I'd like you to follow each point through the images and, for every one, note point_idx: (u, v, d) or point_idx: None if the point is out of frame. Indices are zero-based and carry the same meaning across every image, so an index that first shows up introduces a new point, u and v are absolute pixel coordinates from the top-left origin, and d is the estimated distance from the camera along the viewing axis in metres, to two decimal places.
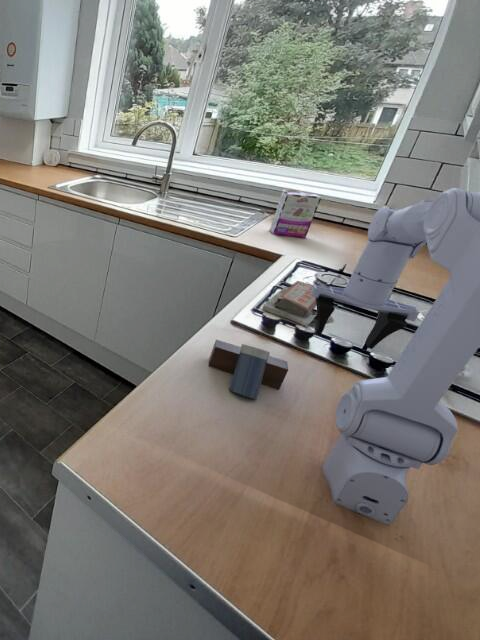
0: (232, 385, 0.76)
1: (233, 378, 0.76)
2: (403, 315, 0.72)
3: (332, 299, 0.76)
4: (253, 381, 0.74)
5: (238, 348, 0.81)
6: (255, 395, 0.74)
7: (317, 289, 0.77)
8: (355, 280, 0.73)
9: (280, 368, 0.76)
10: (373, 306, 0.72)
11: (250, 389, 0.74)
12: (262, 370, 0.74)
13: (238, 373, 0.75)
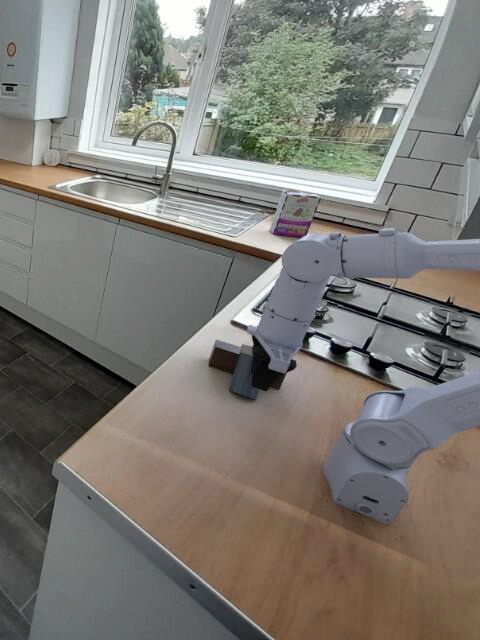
0: (232, 385, 0.76)
1: (233, 378, 0.76)
2: None
3: None
4: None
5: (238, 348, 0.81)
6: (255, 395, 0.74)
7: None
8: (299, 328, 0.59)
9: None
10: None
11: (250, 389, 0.74)
12: None
13: (238, 373, 0.75)
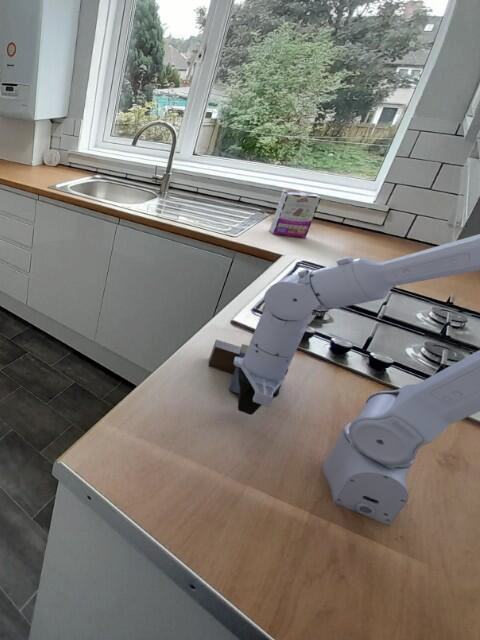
0: (232, 385, 0.76)
1: (233, 378, 0.76)
2: None
3: None
4: None
5: (238, 348, 0.81)
6: None
7: None
8: (281, 363, 0.62)
9: None
10: None
11: None
12: None
13: (238, 373, 0.75)
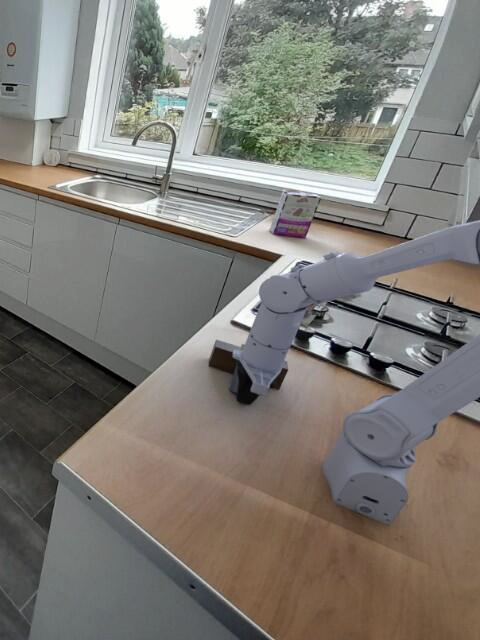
0: (232, 385, 0.76)
1: (233, 378, 0.76)
2: None
3: None
4: None
5: (238, 348, 0.81)
6: None
7: None
8: (278, 355, 0.66)
9: None
10: None
11: None
12: None
13: None
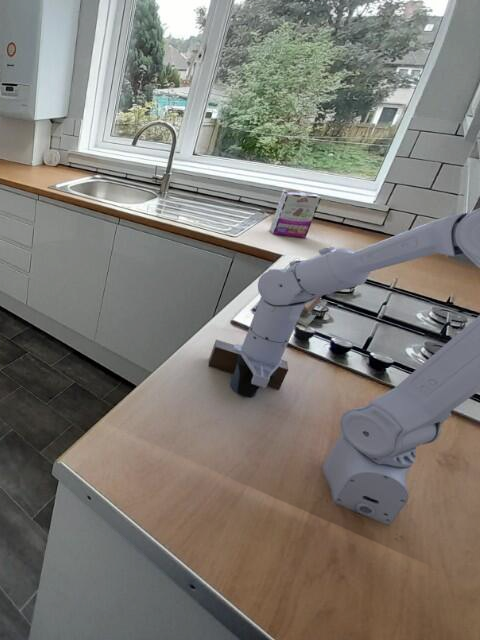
0: (232, 384, 0.77)
1: (233, 377, 0.77)
2: None
3: None
4: None
5: None
6: (254, 394, 0.75)
7: None
8: (277, 348, 0.67)
9: (280, 368, 0.76)
10: None
11: None
12: None
13: (238, 373, 0.76)
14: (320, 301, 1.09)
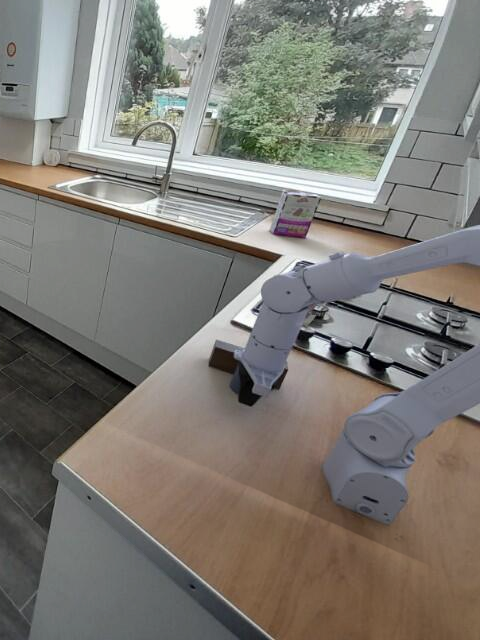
0: None
1: (232, 382, 0.77)
2: None
3: None
4: None
5: (238, 348, 0.81)
6: None
7: None
8: (280, 355, 0.65)
9: None
10: None
11: None
12: None
13: (236, 380, 0.76)
14: None
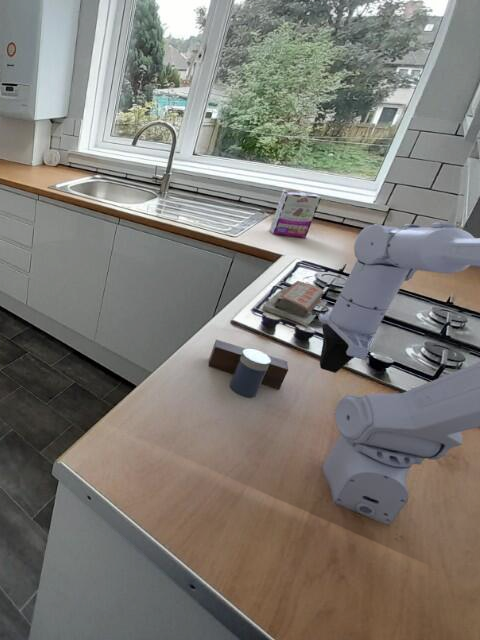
0: None
1: (232, 382, 0.77)
2: None
3: None
4: (251, 389, 0.74)
5: (238, 348, 0.81)
6: None
7: None
8: (376, 316, 0.61)
9: (280, 368, 0.76)
10: None
11: (247, 396, 0.75)
12: (261, 379, 0.73)
13: (236, 380, 0.76)
14: (320, 301, 1.09)
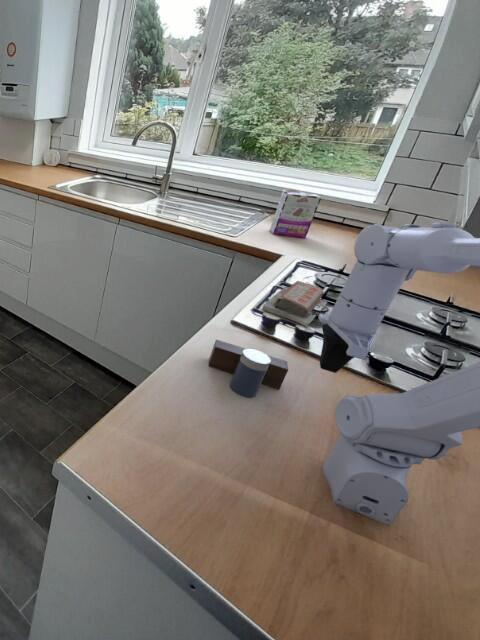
0: None
1: (232, 382, 0.77)
2: None
3: None
4: (251, 389, 0.74)
5: (238, 348, 0.81)
6: None
7: None
8: (376, 316, 0.61)
9: (280, 368, 0.76)
10: None
11: (247, 396, 0.75)
12: (261, 379, 0.73)
13: (236, 380, 0.76)
14: (320, 301, 1.09)
